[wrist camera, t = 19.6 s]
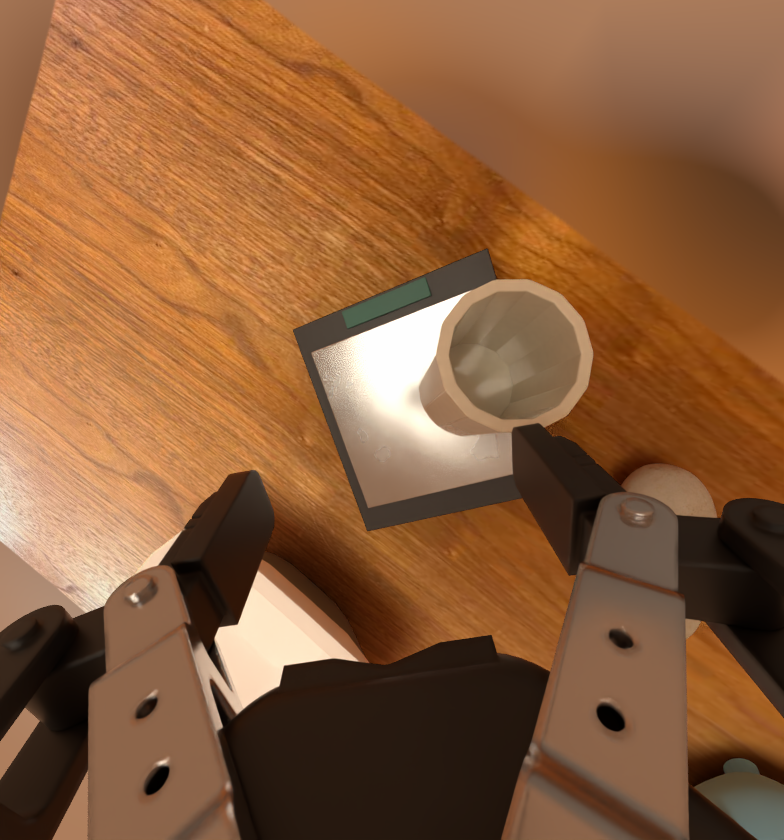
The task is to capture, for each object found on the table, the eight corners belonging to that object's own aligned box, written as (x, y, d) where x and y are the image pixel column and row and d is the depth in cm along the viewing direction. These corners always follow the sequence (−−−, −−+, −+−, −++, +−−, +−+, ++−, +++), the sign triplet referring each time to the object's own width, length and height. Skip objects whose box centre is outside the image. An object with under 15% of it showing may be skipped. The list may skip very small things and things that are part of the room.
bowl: (310, 746, 38) (265, 855, 30) (153, 601, 39) (67, 669, 31) (447, 632, 31) (437, 733, 23) (253, 460, 32) (177, 499, 24)
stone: (613, 644, 25) (600, 516, 20) (612, 570, 30) (601, 451, 25) (724, 672, 22) (740, 529, 17) (704, 584, 26) (712, 451, 21)
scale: (311, 331, 28) (290, 329, 25) (486, 259, 24) (487, 246, 21) (377, 513, 30) (366, 533, 27) (549, 474, 26) (559, 492, 23)
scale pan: (314, 352, 25) (310, 352, 25) (480, 287, 22) (480, 285, 21) (370, 505, 27) (368, 508, 26) (534, 466, 23) (535, 469, 23)
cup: (416, 339, 22) (433, 279, 14) (515, 338, 22) (589, 278, 14) (418, 437, 21) (438, 433, 13) (519, 435, 22) (598, 430, 14)
